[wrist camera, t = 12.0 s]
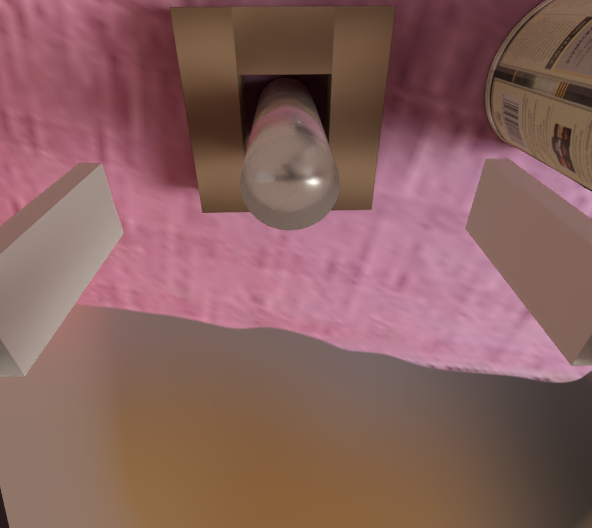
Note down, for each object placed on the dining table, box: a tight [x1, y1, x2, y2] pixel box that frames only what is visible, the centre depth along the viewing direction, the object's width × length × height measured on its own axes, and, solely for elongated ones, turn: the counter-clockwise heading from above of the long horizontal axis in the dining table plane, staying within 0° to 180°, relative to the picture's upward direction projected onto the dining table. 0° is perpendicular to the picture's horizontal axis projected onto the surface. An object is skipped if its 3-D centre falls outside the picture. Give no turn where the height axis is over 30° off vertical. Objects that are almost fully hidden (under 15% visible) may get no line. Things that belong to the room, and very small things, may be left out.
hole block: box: [170, 6, 396, 213], centre depth 25 cm, size 12×12×4 cm
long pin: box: [240, 78, 340, 230], centre depth 21 cm, size 4×4×14 cm
